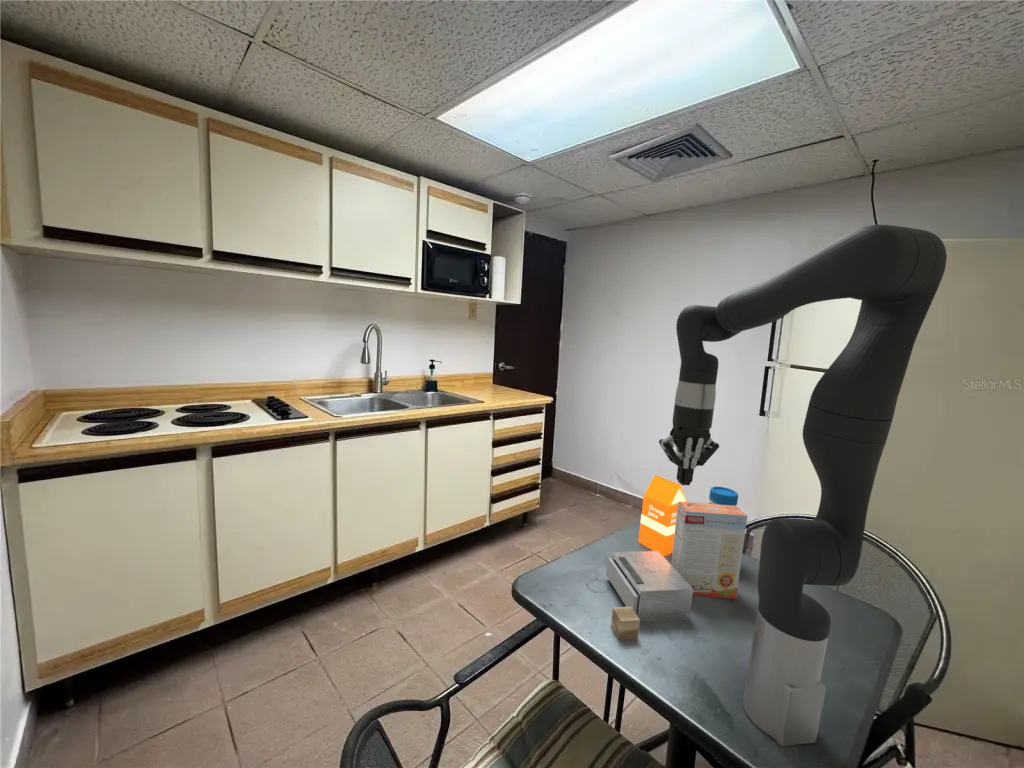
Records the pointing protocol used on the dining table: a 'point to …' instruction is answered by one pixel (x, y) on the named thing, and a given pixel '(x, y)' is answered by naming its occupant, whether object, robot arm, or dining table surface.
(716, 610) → the dining table surface
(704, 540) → the cracker box
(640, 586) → the block
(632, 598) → the grey drawer
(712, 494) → the beverage bottle
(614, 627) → the tan block
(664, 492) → the orange juice
